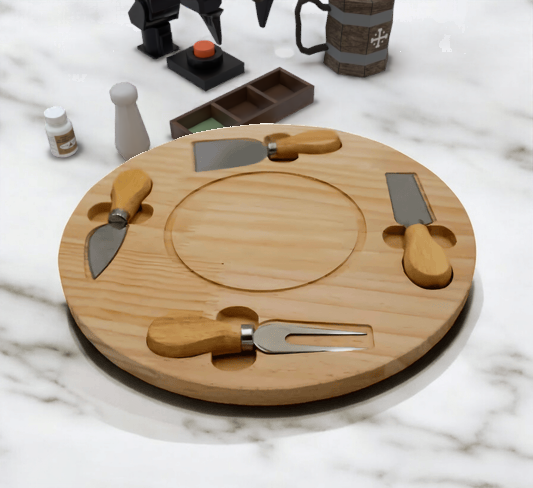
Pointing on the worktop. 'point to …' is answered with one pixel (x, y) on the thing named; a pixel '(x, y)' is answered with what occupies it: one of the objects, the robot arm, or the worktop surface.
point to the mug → (352, 35)
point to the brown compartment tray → (248, 104)
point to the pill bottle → (60, 132)
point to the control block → (205, 67)
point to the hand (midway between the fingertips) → (241, 35)
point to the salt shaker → (128, 121)
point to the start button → (204, 49)
